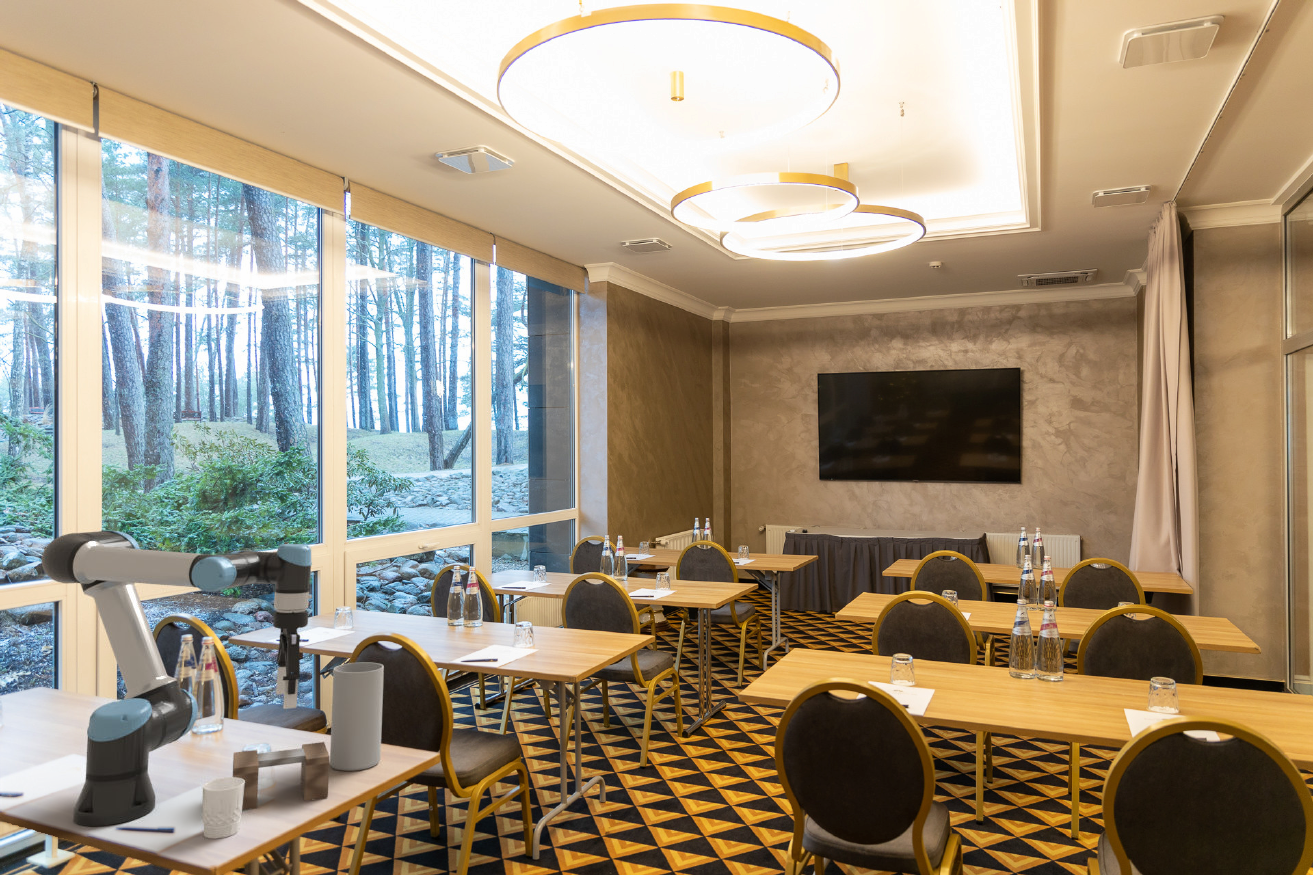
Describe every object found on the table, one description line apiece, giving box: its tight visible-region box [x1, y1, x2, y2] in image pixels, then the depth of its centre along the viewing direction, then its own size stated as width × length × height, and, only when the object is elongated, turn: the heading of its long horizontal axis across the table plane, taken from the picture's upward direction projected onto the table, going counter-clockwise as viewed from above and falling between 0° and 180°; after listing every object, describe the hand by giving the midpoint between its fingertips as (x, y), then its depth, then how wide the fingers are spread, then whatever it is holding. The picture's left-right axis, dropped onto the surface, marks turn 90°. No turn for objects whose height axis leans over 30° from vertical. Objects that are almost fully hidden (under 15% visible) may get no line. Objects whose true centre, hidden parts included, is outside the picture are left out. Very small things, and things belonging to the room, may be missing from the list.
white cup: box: [202, 776, 245, 840], centre depth 175 cm, size 8×8×10 cm
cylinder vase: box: [329, 661, 385, 772], centre depth 219 cm, size 12×12×25 cm
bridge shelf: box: [232, 741, 330, 811], centre depth 195 cm, size 20×12×10 cm, turn 117°
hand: (285, 700), depth 195 cm, fingers open, 13 cm apart
